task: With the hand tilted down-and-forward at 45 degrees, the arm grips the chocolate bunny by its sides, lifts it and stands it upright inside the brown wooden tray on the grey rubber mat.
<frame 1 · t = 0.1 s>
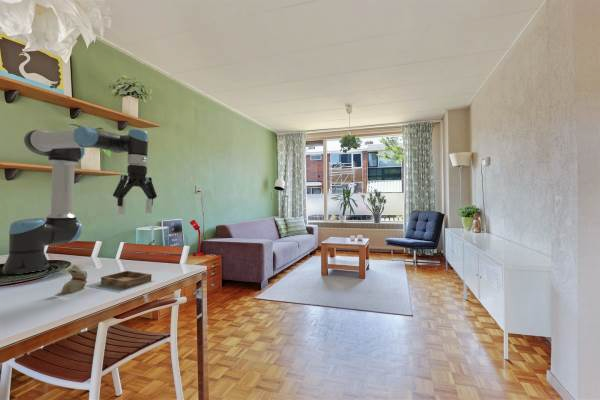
hand: (135, 213, 127), 28 cm above the table, tool pointing down, fingers open, 13 cm apart
brown wooden tray: (126, 282, 117), resting on mat
mat: (120, 284, 116), on the table
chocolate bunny: (73, 292, 106), on the table
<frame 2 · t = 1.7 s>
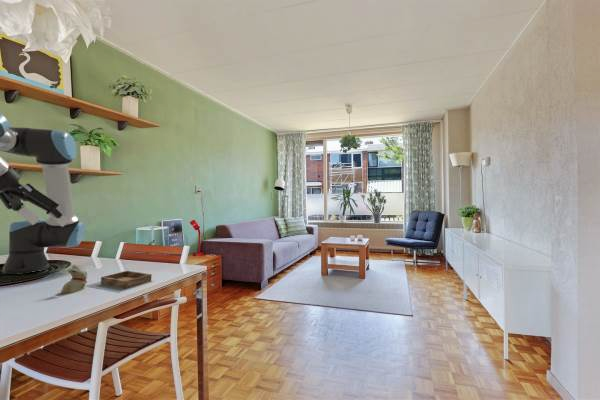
hand: (50, 222, 98), 26 cm above the table, tool tilted 45°, fingers open, 13 cm apart
nothing on the table moved.
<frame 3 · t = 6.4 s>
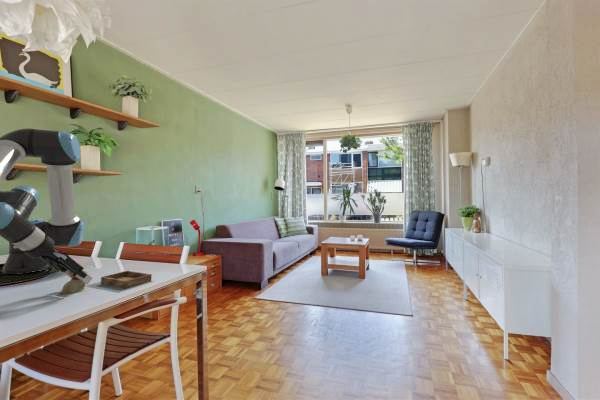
hand: (84, 280, 109), 3 cm above the table, tool tilted 45°, fingers closed on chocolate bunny, 4 cm apart
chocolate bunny: (74, 292, 106), on the table, touching gripper
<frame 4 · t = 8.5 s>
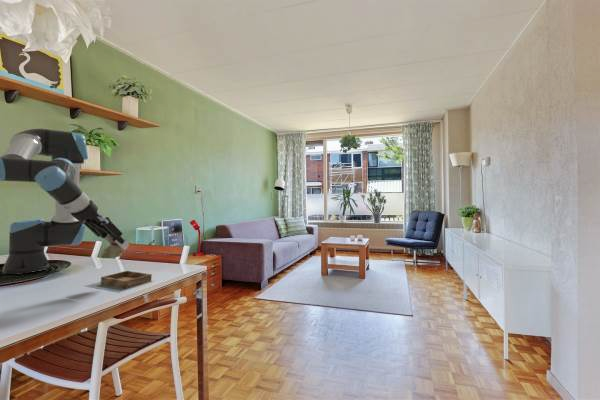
hand: (122, 246, 116), 15 cm above the table, tool tilted 45°, fingers closed on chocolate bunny, 4 cm apart
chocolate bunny: (112, 257, 113), point 12 cm above the table, touching gripper
when the fingers open (6 cm above the table, at t = 10.9 s): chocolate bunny drops 1 cm, resting on brown wooden tray.
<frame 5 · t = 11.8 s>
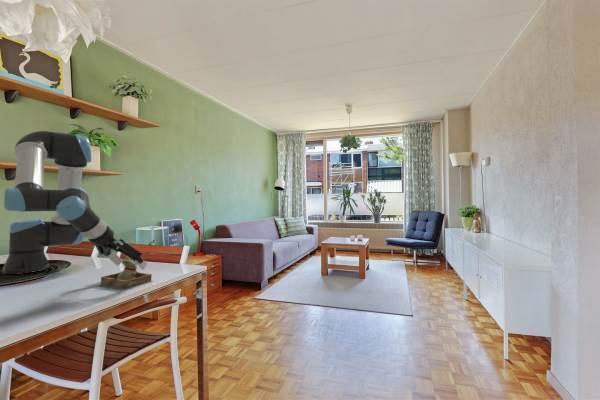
hand: (132, 264, 120), 7 cm above the table, tool tilted 45°, fingers open, 13 cm apart
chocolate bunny: (126, 281, 117), point 1 cm above the table, touching brown wooden tray
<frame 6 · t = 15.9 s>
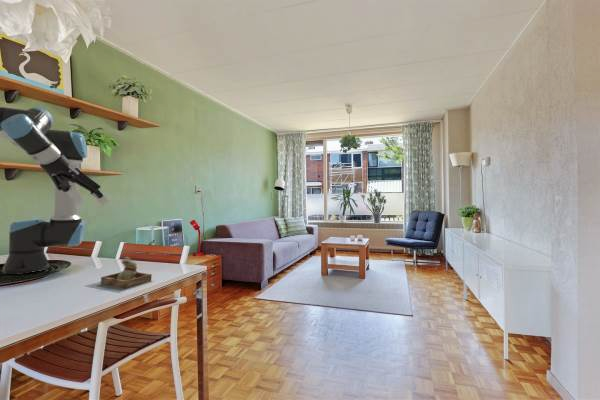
hand: (93, 202, 113), 33 cm above the table, tool tilted 45°, fingers open, 13 cm apart
nothing on the table moved.
at the end: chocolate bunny inside the target area on the brown wooden tray (0.1 cm from its centre), point 0.6 cm above the brown wooden tray's base; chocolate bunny tilted 0°; the gripper is holding nothing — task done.
